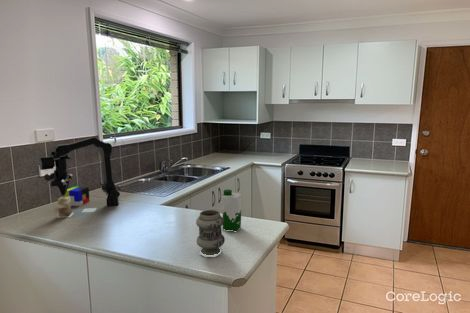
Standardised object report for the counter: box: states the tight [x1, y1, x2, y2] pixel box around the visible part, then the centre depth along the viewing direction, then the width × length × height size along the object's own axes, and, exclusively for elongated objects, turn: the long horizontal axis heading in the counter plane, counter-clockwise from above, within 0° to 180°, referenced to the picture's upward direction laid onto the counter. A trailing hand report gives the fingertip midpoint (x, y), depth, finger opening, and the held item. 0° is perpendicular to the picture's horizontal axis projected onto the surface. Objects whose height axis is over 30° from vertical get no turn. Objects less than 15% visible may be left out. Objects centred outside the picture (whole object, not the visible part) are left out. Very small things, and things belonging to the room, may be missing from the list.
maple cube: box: [57, 196, 72, 209], centre depth 189 cm, size 5×5×5 cm
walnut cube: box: [58, 205, 72, 218], centre depth 190 cm, size 5×5×5 cm
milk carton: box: [221, 189, 242, 232], centre depth 169 cm, size 9×9×20 cm
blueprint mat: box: [55, 207, 97, 219], centre depth 194 cm, size 18×14×1 cm
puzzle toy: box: [63, 186, 90, 207], centre depth 212 cm, size 10×10×10 cm
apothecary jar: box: [195, 209, 226, 255], centre depth 142 cm, size 12×12×18 cm
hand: (63, 194), depth 188 cm, fingers closed
